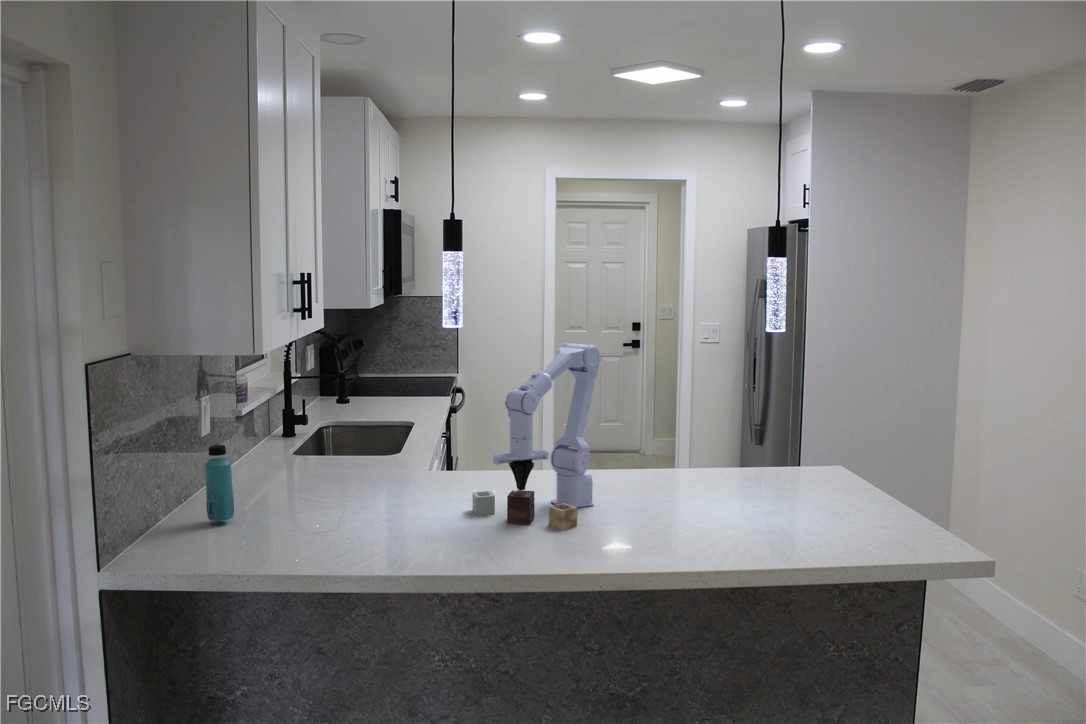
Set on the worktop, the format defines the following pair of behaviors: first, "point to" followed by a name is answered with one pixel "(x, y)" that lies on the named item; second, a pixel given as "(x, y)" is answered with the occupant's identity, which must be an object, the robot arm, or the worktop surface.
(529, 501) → the box
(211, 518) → the beverage bottle
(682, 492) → the worktop surface
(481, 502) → the sage marked block
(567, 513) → the oak marked block
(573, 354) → the robot arm
